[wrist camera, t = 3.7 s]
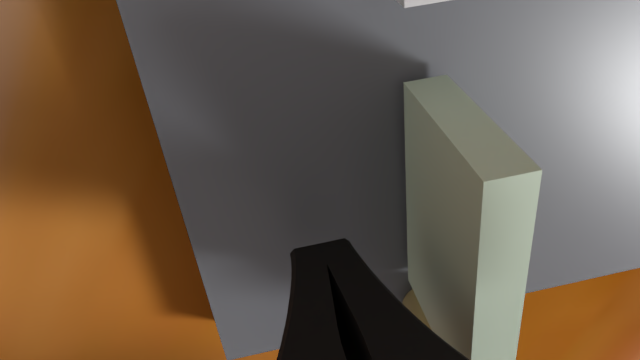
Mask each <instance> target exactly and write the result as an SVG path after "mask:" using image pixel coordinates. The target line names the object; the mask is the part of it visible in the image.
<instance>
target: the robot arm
mask: <svg viewBox="0 0 640 360" xmlns="http://www.w3.org/2000/svg"><path fill="white" fill-rule="evenodd" d="M290 257H291V269H292V272H291V289H290V297H289V304H288V311H287V318H286V323H285V327H284V332H283V336H282V341H281V345H280V349H279V353H278V357H277V360H469V359H468V358H467V357H465V356H464V355H463V354H461V353H460V352H459V351H457V350H456V349H455V348H453V347H452V346H451V345H449V344H448V343H447V342H445V341H444V340H443V339H442V338H440V337H439V336H438V335H437V334H435V333H434V332H433V331H432V330H431V329H430V328H428V327H427V326H426V325H425V324H424V323H423V322H422V321H420V320H419V319H418V318H417V317H416V316H415V315H414V314H413V313H412V312H411V311H410V310H409V309H407V308H406V307H405V306H404V305H403V304H402V303H401V302H400V301H399V300H398V299H397V298H396V297H395V296H394V295H393V293H392V292H391V291H390V290H389V289H388V288H387V287H386V286H385V285H384V284H383V283H382V282H381V281H380V280H379V279H378V277H377V276H376V275H375V274H374V273H373V272H372V270H371V269H370V268H369V267H368V266H367V264H366V263H365V262H364V261H363V259H362V258H361V257H360V256H359V254H358V253H357V252H356V250H355V249H354V247H353V246H352V244H351V243H350V241H348V240H347V239H345V238H343V239H338V240H333V241H328V242H324V243H319V244H314V245H309V246H305V247H300V248H295V249H293V251H292V252H291V253H290Z"/></svg>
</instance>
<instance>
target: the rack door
mask: <svg viewBox="0 0 640 360" xmlns="http://www.w3.org/2000/svg"><path fill="white" fill-rule="evenodd" d="M403 84H404V126H405V169H406V212H407V254H408V280H409V282H410V285H411V287H412V290H411V291H409V292H408V293H407V294H406V296H405V297H404V299H403V302H402V304H403V305H404V306H405V307H406V308H407V309H409V310H410V311H411V312H412V313H413V314H414V315H415V316H416V317H417V318H418V319H419V320H420V321H422V322H423V323H424V324H425V325H426V326H427V327H428V328H430V329H431V330H432V331H433V332H434V333H435V334H437V335H438V336H439V337H440V338H442V339H443V340H444V341H445V342H447V343H448V344H449V345H451V346H452V347H453V348H455V349H456V350H457V351H459V352H460V353H461V354H463V355H464V356H465V357H467V358H468V359H469V360H516V354H517V347H518V339H519V332H520V325H521V318H522V311H523V304H524V297H525V290H526V283H527V276H528V269H529V261H530V254H531V247H532V240H533V233H534V226H535V219H536V212H537V205H538V198H539V191H540V183H541V176H542V169H541V168H540V167H539V166H538V165H537V164H536V163H535V162H534V161H533V160H532V159H531V158H530V157H529V156H528V155H527V154H526V153H525V152H524V151H523V150H522V149H521V148H520V147H519V146H518V145H517V144H516V143H515V142H514V141H513V140H512V139H511V138H510V137H509V136H508V135H507V134H506V133H505V132H504V131H503V130H502V129H501V128H500V127H499V126H498V125H497V124H496V123H495V122H494V121H493V120H492V119H491V118H490V117H489V116H488V115H487V114H486V113H485V112H484V111H483V110H482V109H481V108H480V107H479V106H478V105H477V104H476V103H475V102H474V101H473V100H472V99H471V98H470V97H469V96H468V95H467V94H466V93H465V92H464V91H463V90H462V89H461V88H460V87H459V86H458V85H457V84H456V83H455V82H454V81H453V80H452V79H451V78H450V77H449V76H448V75H442V76H436V77H431V78H425V79H420V80H414V81H409V82H403Z"/></svg>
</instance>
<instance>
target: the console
mask: <svg viewBox="0 0 640 360" xmlns="http://www.w3.org/2000/svg"><path fill="white" fill-rule="evenodd" d="M116 2H117V5H118V8H119V11H120V15H121V18H122V21H123V24H124V28H125V31H126V34H127V37H128V41H129V44H130V47H131V50H132V54H133V57H134V60H135V63H136V67H137V70H138V73H139V76H140V80H141V83H142V86H143V89H144V92H145V96H146V99H147V102H148V105H149V109H150V112H151V115H152V118H153V122H154V125H155V128H156V131H157V135H158V138H159V141H160V144H161V148H162V151H163V154H164V157H165V161H166V164H167V167H168V170H169V174H170V177H171V180H172V183H173V187H174V190H175V193H176V196H177V200H178V203H179V206H180V209H181V212H182V216H183V219H184V222H185V225H186V229H187V232H188V235H189V238H190V242H191V245H192V248H193V251H194V255H195V258H196V261H197V264H198V268H199V271H200V274H201V277H202V281H203V284H204V287H205V290H206V294H207V297H208V300H209V303H210V307H211V310H212V313H213V316H214V320H215V323H216V326H217V329H218V332H219V336H220V339H221V342H222V345H223V349H224V352H225V355H226V358H227V360H232V359H236V358H241V357H245V356H250V355H254V354H259V353H263V352H268V351H272V350H276V349H280V345H281V341H282V336H283V332H284V327H285V323H286V318H287V311H288V304H289V297H290V289H291V272H292V269H291V257H290V253H291V252H292V251H293V249H295V248H300V247H305V246H309V245H314V244H319V243H324V242H328V241H333V240H338V239H343V238H345V239H347V240H348V241H350V243H351V244H352V246H353V247H354V249H355V250H356V252H357V253H358V254H359V256H360V257H361V258H362V259H363V261H364V262H365V263H366V264H367V266H368V267H369V268H370V269H371V270H372V272H373V273H374V274H375V275H376V276H377V277H378V279H379V280H380V281H381V282H382V283H383V284H384V285H385V286H386V287H387V288H388V289H389V290H390V291H391V292H392V293H393V295H394V296H395V297H396V298H397V299H398V300H399V301H400V302H401V303H402V302H403V299H404V297H405V296H406V294H407V293H408V292H409V291H411V290H412V287H411V285H410V282H409V280H408V254H407V212H406V169H405V126H404V84H403V82H409V81H414V80H420V79H425V78H431V77H436V76H442V75H448V76H449V77H450V78H451V79H452V80H453V81H454V82H455V83H456V84H457V85H458V86H459V87H460V88H461V89H462V90H463V91H464V92H465V93H466V94H467V95H468V96H469V97H470V98H471V99H472V100H473V101H474V102H475V103H476V104H477V105H478V106H479V107H480V108H481V109H482V110H483V111H484V112H485V113H486V114H487V115H488V116H489V117H490V118H491V119H492V120H493V121H494V122H495V123H496V124H497V125H498V126H499V127H500V128H501V129H502V130H503V131H504V132H505V133H506V134H507V135H508V136H509V137H510V138H511V139H512V140H513V141H514V142H515V143H516V144H517V145H518V146H519V147H520V148H521V149H522V150H523V151H524V152H525V153H526V154H527V155H528V156H529V157H530V158H531V159H532V160H533V161H534V162H535V163H536V164H537V165H538V166H539V167H540V168H541V169H542V176H541V183H540V191H539V198H538V205H537V212H536V219H535V226H534V233H533V240H532V247H531V254H530V261H529V269H528V276H527V283H526V290H525V293H529V292H534V291H538V290H542V289H547V288H551V287H556V286H560V285H565V284H569V283H573V282H578V281H582V280H587V279H591V278H596V277H600V276H605V275H609V274H613V273H618V272H622V271H627V270H631V269H636V268H640V0H116Z"/></svg>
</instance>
